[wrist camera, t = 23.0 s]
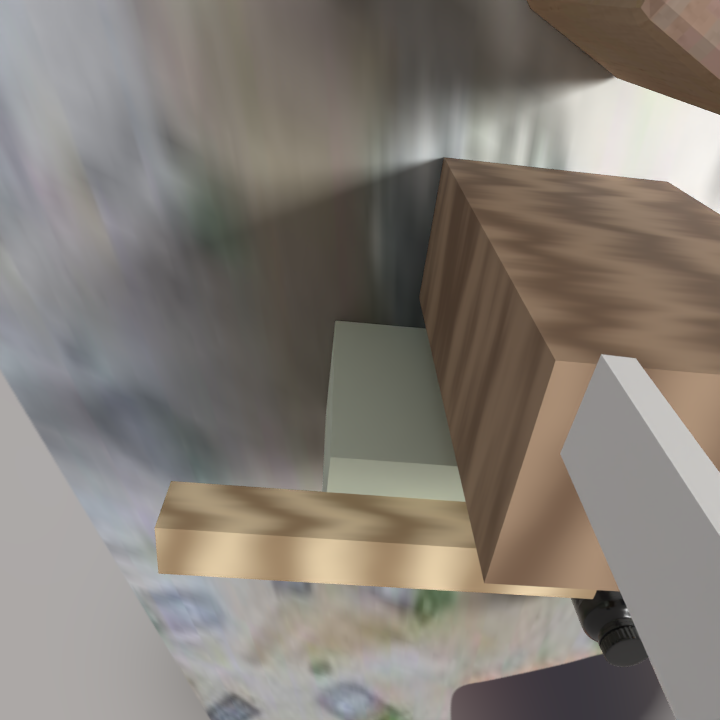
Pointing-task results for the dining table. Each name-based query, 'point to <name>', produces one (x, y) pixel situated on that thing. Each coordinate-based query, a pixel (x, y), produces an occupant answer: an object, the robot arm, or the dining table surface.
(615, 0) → the wooden block
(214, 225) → the dining table surface
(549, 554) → the walnut stand
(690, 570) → the robot arm
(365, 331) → the sage plinth
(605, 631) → the supplement bottle
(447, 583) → the oak rail
